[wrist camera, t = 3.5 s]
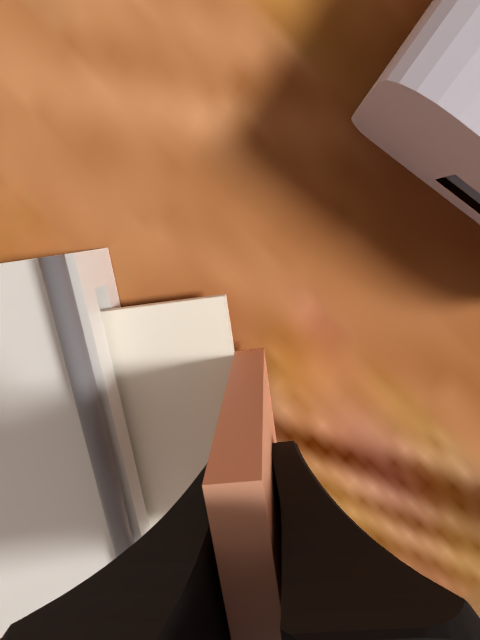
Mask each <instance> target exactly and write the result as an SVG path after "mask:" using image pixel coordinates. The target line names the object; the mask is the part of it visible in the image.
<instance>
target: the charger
mask: <svg viewBox="0 0 480 640" xmlns="http://www.w3.org/2000/svg"><path fill="white" fill-rule="evenodd" d="M351 120H352V122H353V124H354V125H355V127H356V128H357V129H358V130H359V131H360V132H361V133H362V134H363V135H364V136H365V137H367V138H368V139H369V140H370V141H372V142H373V143H374V144H375V145H377V146H378V147H379V148H381V149H382V150H383V151H384V152H386V153H387V154H388V155H390V156H391V157H392V158H393V159H395V160H396V161H397V162H399V163H400V164H401V165H403V166H404V167H405V168H406V169H408V170H409V171H410V172H412V173H413V174H414V175H416V176H417V177H418V178H419V179H421V180H422V181H423V182H425V183H426V184H427V185H429V186H430V187H431V188H433V189H434V190H435V191H436V192H438V193H439V194H440V195H442V196H443V197H444V198H446V199H447V200H448V201H449V202H451V203H452V204H453V205H455V206H456V207H457V208H459V209H460V210H461V211H462V212H464V213H465V214H466V215H468V216H469V217H470V218H472V219H473V220H474V221H476V222H477V223H478V224H479V225H480V214H479V213H478V212H476V211H475V210H474V209H472V208H471V207H470V206H469V205H467V204H466V203H465V202H463V201H462V200H461V199H459V198H458V197H457V196H456V195H454V194H453V193H452V192H450V191H449V190H448V189H446V188H445V187H444V186H443V185H441V184H440V183H439V182H437V181H436V180H435V179H439V178H443V177H446V178H447V179H448V180H449V181H451V182H452V183H453V184H455V185H456V186H457V187H458V188H460V189H461V190H462V191H464V192H465V193H466V194H468V195H469V196H470V197H471V198H473V199H474V200H475V201H477V202H478V203H479V204H480V0H433V1H432V2H431V4H430V5H429V7H428V8H427V10H426V11H425V12H424V14H423V15H422V17H421V18H420V20H419V21H418V22H417V24H416V25H415V27H414V28H413V30H412V31H411V32H410V34H409V35H408V37H407V38H406V40H405V41H404V42H403V44H402V45H401V47H400V48H399V50H398V51H397V52H396V54H395V55H394V57H393V58H392V60H391V61H390V62H389V64H388V65H387V67H386V68H385V70H384V71H383V72H382V74H381V75H380V77H379V78H378V80H377V81H376V82H375V84H374V85H373V87H372V88H371V90H370V91H369V92H368V94H367V95H366V97H365V98H364V100H363V101H362V102H361V104H360V105H359V107H358V108H357V110H356V111H355V112H354V114H353V115H352V117H351Z"/></svg>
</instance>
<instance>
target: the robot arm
mask: <svg viewBox="0 0 480 640" xmlns="http://www.w3.org/2000/svg"><path fill="white" fill-rule="evenodd" d="M272 461H273V468H274V475H275V482H276V489H277V496H278V503H279V510H280V517H281V525H282V590H281V619H280V632H281V639H282V640H480V618H479V617H478V615H477V614H476V612H475V611H474V610H473V608H472V607H471V606H470V605H469V603H468V602H467V601H466V600H465V599H463V598H461V597H459V596H458V595H456V594H454V593H452V592H451V591H449V590H447V589H445V588H444V587H442V586H440V585H438V584H437V583H435V582H433V581H432V580H430V579H428V578H426V577H425V576H423V575H421V574H420V573H418V572H417V571H415V570H414V569H412V568H411V567H409V566H408V565H406V564H405V563H403V562H402V561H400V560H399V559H398V558H396V557H395V556H394V555H393V554H391V553H390V552H389V551H387V550H386V549H385V548H384V547H382V546H381V545H380V544H378V543H377V542H376V541H375V540H373V539H372V538H371V537H370V536H369V535H368V534H367V533H366V532H364V531H363V530H362V529H361V528H360V527H359V526H358V525H357V524H356V523H355V522H354V521H353V520H352V519H351V518H350V517H349V516H348V515H347V514H346V513H345V512H344V511H343V510H342V509H341V508H340V507H339V506H338V505H337V504H336V502H335V501H334V500H333V499H332V498H331V496H330V495H329V494H328V493H327V492H326V490H325V489H324V488H323V487H322V485H321V484H320V483H319V481H318V480H317V478H316V477H315V476H314V474H313V473H312V471H311V470H310V468H309V467H308V465H307V463H306V462H305V460H304V458H303V457H302V455H301V453H300V450H299V448H298V445H297V444H296V443H295V442H294V441H287V442H277V443H272ZM207 463H208V462H207ZM206 467H207V464H206V465H205V467H204V468H203V469H202V471H201V472H200V473H199V475H198V476H197V477H196V478H195V480H194V481H193V482H192V484H191V485H190V486H189V487H188V489H187V490H186V491H185V492H184V494H183V495H182V496H181V497H180V498H179V499H178V501H177V502H176V503H175V504H174V505H173V506H172V507H171V508H170V510H169V511H168V512H167V513H166V514H165V515H164V516H163V517H162V518H161V519H160V520H159V521H158V522H157V523H156V524H155V525H154V526H153V527H152V528H151V529H150V530H149V531H147V532H146V533H145V534H144V535H143V536H142V537H141V538H140V539H139V540H137V541H136V542H135V543H134V544H133V545H131V546H130V547H129V548H128V549H126V550H125V551H124V552H123V553H121V554H120V555H119V556H118V557H116V558H115V559H114V560H113V561H111V562H110V563H109V564H107V565H106V566H105V567H103V568H102V569H101V570H99V571H98V572H96V573H95V574H94V575H92V576H91V577H89V578H88V579H86V580H85V581H83V582H82V583H80V584H79V585H77V586H76V587H74V588H73V589H71V590H70V591H68V592H66V593H65V594H63V595H62V596H60V597H58V598H57V599H55V600H53V601H51V602H50V603H48V604H46V605H44V606H43V607H41V608H39V609H37V610H36V611H34V612H32V613H30V614H29V615H27V616H25V617H24V618H22V619H20V620H18V621H16V622H14V623H12V624H11V625H10V626H9V628H8V629H7V631H6V632H5V633H4V635H3V637H2V638H1V640H231V636H230V631H229V626H228V620H227V615H226V610H225V605H224V599H223V594H222V589H221V583H220V578H219V573H218V567H217V562H216V557H215V552H214V546H213V541H212V536H211V530H210V525H209V520H208V515H207V509H206V504H205V499H204V493H203V488H202V483H203V479H204V475H205V471H206Z"/></svg>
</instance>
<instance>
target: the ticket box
mask: <svg viewBox="0 0 480 640" xmlns="http://www.w3.org/2000/svg"><path fill="white" fill-rule="evenodd" d="M120 307H121V305H120V301H119V296H118V292H117V287H116V282H115V278H114V273H113V269H112V264H111V259H110V255H109V250H108V248H102V249H95V250H88V251H81V252H74V253H68V254H61V255H54V256H47V257H40V258H33V259H26V260H20V261H13V262H6V263H0V638H2V637H3V635H4V633H5V632H6V631H7V629H8V628H9V626H10V625H11V624H12V623H14V622H16V621H18V620H20V619H22V618H24V617H25V616H27V615H29V614H30V613H32V612H34V611H36V610H37V609H39V608H41V607H43V606H44V605H46V604H48V603H50V602H51V601H53V600H55V599H57V598H58V597H60V596H62V595H63V594H65V593H66V592H68V591H70V590H71V589H73V588H74V587H76V586H77V585H79V584H80V583H82V582H83V581H85V580H86V579H88V578H89V577H91V576H92V575H94V574H95V573H96V572H98V571H99V570H101V569H102V568H103V567H105V566H106V565H107V564H109V563H110V562H111V561H113V560H114V559H115V558H116V557H118V556H119V555H120V554H121V553H123V552H124V551H125V550H126V549H128V548H129V547H130V546H131V545H133V544H134V543H135V542H136V541H137V540H139V539H140V538H141V537H142V536H143V535H144V534H145V533H146V532H147V531H149V530H150V525H149V520H148V516H147V512H146V507H145V503H144V499H143V494H142V490H141V486H140V481H139V477H138V473H137V468H136V464H135V460H134V455H133V451H132V447H131V442H130V438H129V434H128V429H127V425H126V421H125V416H124V412H123V408H122V403H121V399H120V395H119V390H118V386H117V382H116V377H115V373H114V369H113V364H112V360H111V356H110V351H109V347H108V343H107V338H106V334H105V330H104V325H103V321H102V317H101V312H100V310H104V309H112V308H120Z"/></svg>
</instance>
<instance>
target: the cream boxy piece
mask: <svg viewBox="0 0 480 640" xmlns="http://www.w3.org/2000/svg"><path fill="white" fill-rule="evenodd" d="M100 312H101V317H102V321H103V325H104V330H105V334H106V338H107V343H108V347H109V351H110V356H111V360H112V364H113V369H114V373H115V377H116V382H117V386H118V390H119V395H120V399H121V403H122V408H123V412H124V416H125V421H126V425H127V429H128V434H129V438H130V442H131V447H132V451H133V455H134V460H135V464H136V468H137V473H138V477H139V481H140V486H141V490H142V494H143V499H144V503H145V507H146V512H147V516H148V520H149V525H150V529H151V528H152V527H153V526H154V525H155V524H156V523H157V522H158V521H159V520H160V519H161V518H162V517H163V516H164V515H165V514H166V513H167V512H168V511H169V510H170V508H171V507H172V506H173V505H174V504H175V503H176V502H177V501H178V499H179V498H180V497H181V496H182V495H183V494H184V492H185V491H186V490H187V489H188V487H189V486H190V485H191V484H192V482H193V481H194V480H195V478H196V477H197V476H198V475H199V473H200V472H201V471H202V469H203V468H204V467H205V465H206V464H207V467H206V471H205V475H204V479H203V483H202V488H203V493H204V499H205V504H206V509H207V515H208V520H209V525H210V530H211V536H212V541H213V546H214V552H215V557H216V562H217V567H218V573H219V578H220V583H221V589H222V594H223V599H224V605H225V610H226V615H227V620H228V626H229V631H230V636H231V640H282V639H281V632H280V619H281V590H282V525H281V517H280V510H279V503H278V496H277V489H276V482H275V475H274V468H273V461H272V443H277V442H276V434H275V427H274V419H273V412H272V404H271V397H270V389H269V382H268V374H267V367H266V360H265V352H264V348H258V349H249V350H240V351H235V350H234V343H233V337H232V330H231V324H230V317H229V310H228V304H227V297H226V294H219V295H212V296H204V297H196V298H189V299H181V300H173V301H166V302H158V303H150V304H143V305H135V306H127V307H120V308H112V309H104V310H100ZM207 462H208V463H207Z"/></svg>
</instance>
